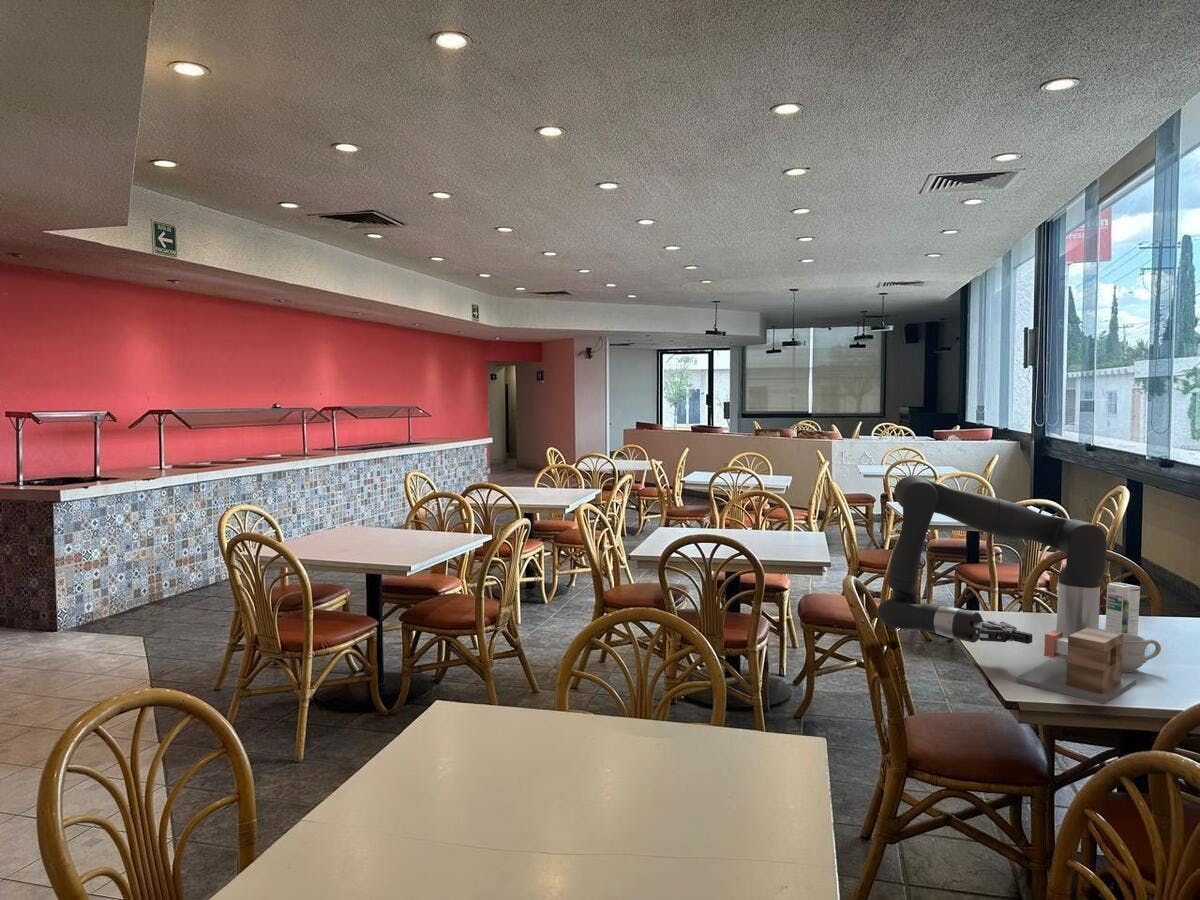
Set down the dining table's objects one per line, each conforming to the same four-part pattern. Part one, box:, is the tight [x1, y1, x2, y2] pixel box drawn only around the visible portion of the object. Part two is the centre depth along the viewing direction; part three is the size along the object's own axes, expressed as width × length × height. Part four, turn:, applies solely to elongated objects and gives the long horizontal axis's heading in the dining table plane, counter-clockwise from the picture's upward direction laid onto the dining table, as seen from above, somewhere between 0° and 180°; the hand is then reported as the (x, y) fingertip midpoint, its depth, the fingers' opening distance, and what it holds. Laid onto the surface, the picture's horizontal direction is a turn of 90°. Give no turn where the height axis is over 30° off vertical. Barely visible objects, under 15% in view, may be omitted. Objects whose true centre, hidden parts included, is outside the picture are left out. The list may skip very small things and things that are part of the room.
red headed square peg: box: [1043, 629, 1068, 659], centre depth 183 cm, size 5×9×5 cm, turn 41°
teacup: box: [1122, 633, 1162, 673], centre depth 193 cm, size 14×11×8 cm
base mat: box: [1014, 659, 1137, 705], centre depth 183 cm, size 20×18×1 cm
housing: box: [1066, 627, 1123, 694], centre depth 179 cm, size 12×7×12 cm, turn 131°
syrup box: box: [1104, 581, 1141, 636], centre depth 221 cm, size 6×6×14 cm
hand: (1031, 639), depth 189 cm, fingers closed
